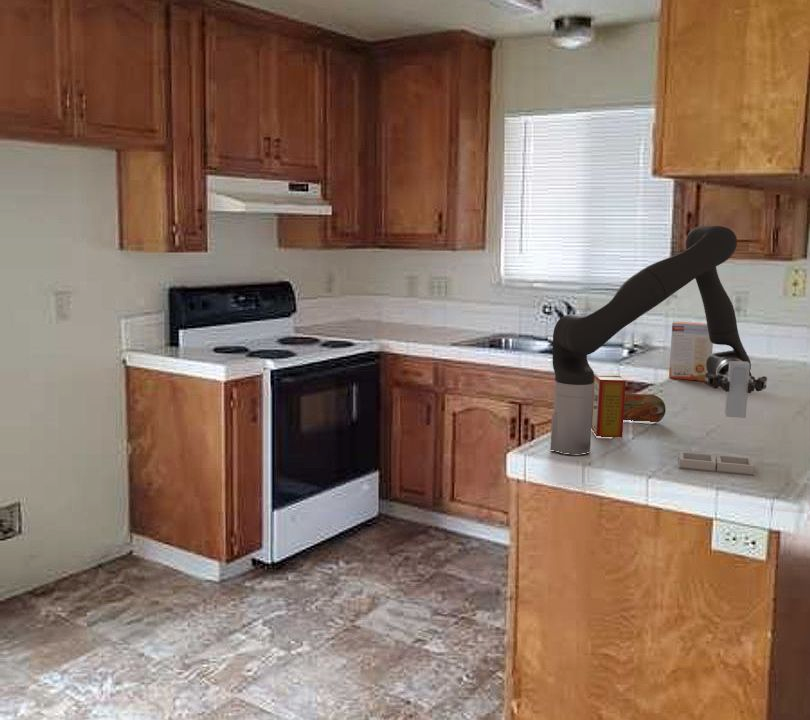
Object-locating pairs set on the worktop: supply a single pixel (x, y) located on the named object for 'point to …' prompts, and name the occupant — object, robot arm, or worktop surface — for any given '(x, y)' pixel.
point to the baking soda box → (608, 405)
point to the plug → (737, 389)
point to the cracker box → (689, 351)
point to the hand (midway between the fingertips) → (738, 387)
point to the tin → (643, 407)
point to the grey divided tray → (716, 463)
